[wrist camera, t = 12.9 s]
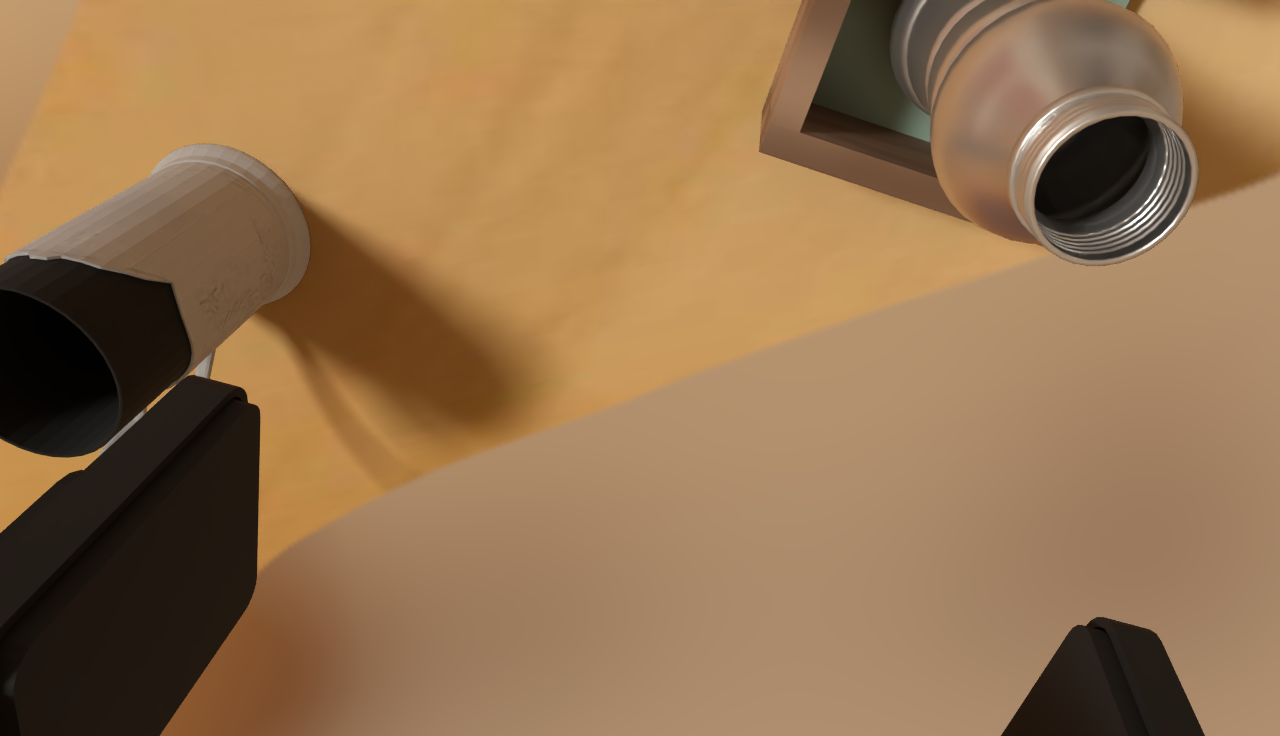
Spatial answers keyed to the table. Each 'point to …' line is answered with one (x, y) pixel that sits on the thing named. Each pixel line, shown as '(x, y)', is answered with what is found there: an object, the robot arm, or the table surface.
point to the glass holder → (140, 296)
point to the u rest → (851, 104)
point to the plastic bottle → (1051, 121)
